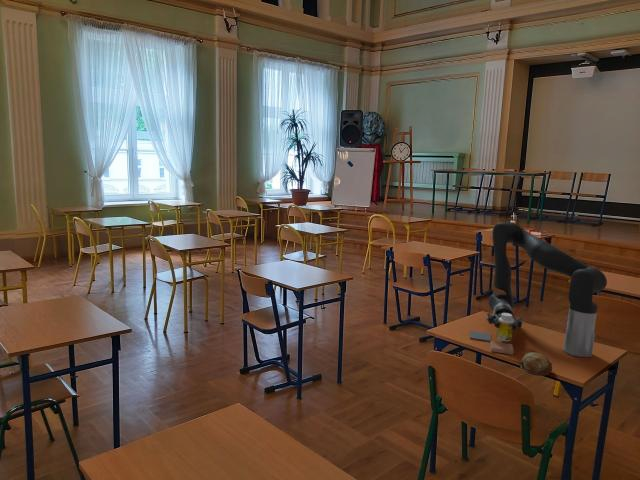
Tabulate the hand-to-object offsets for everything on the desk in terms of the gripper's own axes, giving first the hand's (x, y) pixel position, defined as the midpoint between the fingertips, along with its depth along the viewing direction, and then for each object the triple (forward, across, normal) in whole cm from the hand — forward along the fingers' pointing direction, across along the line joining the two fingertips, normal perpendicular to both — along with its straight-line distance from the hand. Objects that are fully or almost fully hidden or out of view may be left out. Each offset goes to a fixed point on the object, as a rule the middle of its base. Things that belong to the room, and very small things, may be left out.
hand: (506, 326), depth 185 cm
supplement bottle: (-3, 0, +6) cm, 7 cm away
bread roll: (+16, +10, +9) cm, 21 cm away
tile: (-1, -1, +8) cm, 8 cm away
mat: (-8, -8, +9) cm, 15 cm away
